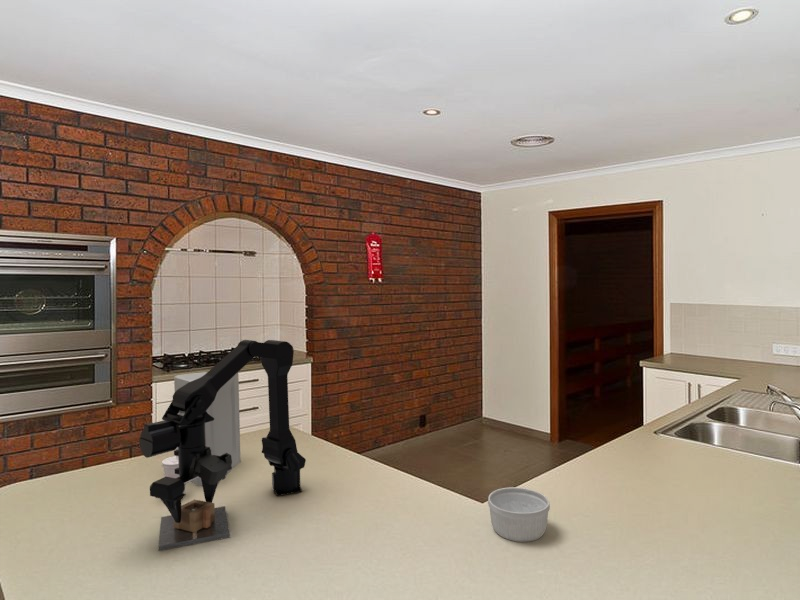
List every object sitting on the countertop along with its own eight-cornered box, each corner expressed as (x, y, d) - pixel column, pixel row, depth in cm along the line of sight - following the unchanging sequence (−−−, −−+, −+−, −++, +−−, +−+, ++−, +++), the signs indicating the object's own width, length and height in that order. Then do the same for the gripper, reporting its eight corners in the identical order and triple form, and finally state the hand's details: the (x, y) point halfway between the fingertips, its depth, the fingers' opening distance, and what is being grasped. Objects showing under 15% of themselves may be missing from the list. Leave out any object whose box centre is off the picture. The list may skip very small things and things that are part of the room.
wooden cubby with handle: (194, 516, 120) (194, 499, 120) (218, 521, 117) (217, 503, 117) (174, 527, 115) (173, 509, 114) (198, 533, 112) (197, 514, 112)
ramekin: (514, 551, 106) (514, 518, 105) (476, 524, 117) (475, 494, 117) (562, 536, 112) (562, 504, 111) (521, 511, 123) (521, 482, 123)
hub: (225, 510, 125) (224, 492, 125) (229, 537, 112) (229, 516, 112) (161, 521, 120) (160, 502, 120) (158, 550, 107) (157, 529, 107)
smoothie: (180, 503, 129) (178, 448, 129) (157, 501, 131) (155, 446, 130) (195, 492, 136) (193, 439, 135) (173, 490, 137) (171, 438, 136)
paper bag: (194, 460, 160) (192, 369, 158) (241, 461, 159) (239, 370, 157) (161, 485, 141) (157, 382, 139) (214, 486, 140) (211, 383, 138)
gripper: (187, 463, 104) (190, 540, 104) (248, 436, 121) (250, 501, 122) (146, 456, 108) (149, 530, 109) (211, 431, 125) (213, 494, 126)
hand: (194, 513), depth 116 cm, fingers open, 9 cm apart
